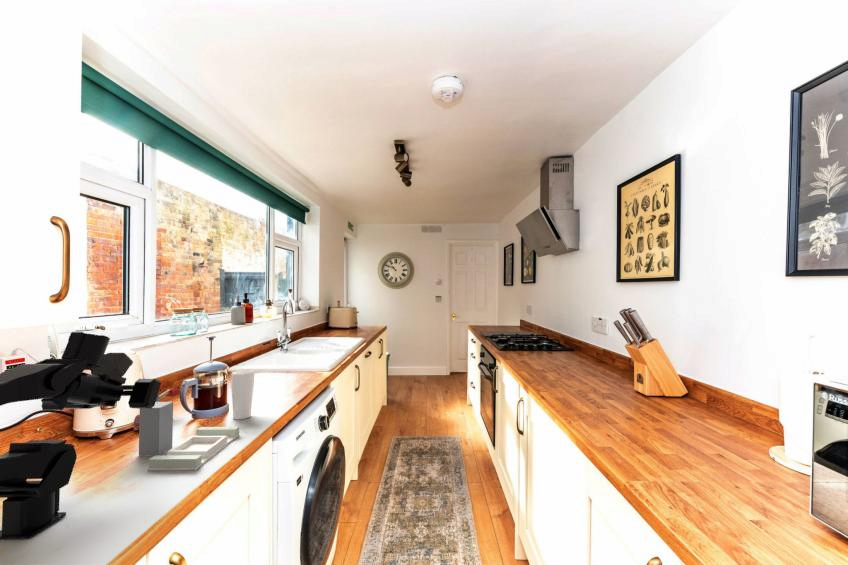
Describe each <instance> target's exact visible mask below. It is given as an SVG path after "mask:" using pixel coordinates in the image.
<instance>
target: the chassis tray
mask: <svg viewBox="0 0 848 565" xmlns="http://www.w3.org/2000/svg"><path fill="white" fill-rule="evenodd" d="M239 436H240V426H199V428H196V435H191V436H190V437H188V438H186V439H184V441H181V442H180V443H178V444H177V445H175V446H174V447H172V448H170V449H169V450H167V451H166V452H167V453H166V455H162V454H161V455H155V456H151V457H150V458H148V464H147V465H148V467H147V468H148V470H147V471H197V470H198V469H199V468H200V467H201V466H203V465H205V463H207V462H208V461H209V460H211V459H212V458H213V457H214V456H216V454H218V453H219V452H221V450H223V449H224V448H225V447H227V446H228V445H229V444H231V443H232V442H233V441H234V440H235V439H237V438H238V437H239Z"/></svg>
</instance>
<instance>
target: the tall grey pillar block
mask: <svg viewBox="0 0 848 565" xmlns="http://www.w3.org/2000/svg"><path fill="white" fill-rule="evenodd" d="M139 414H140V419H139V430H138V432H139V433H138V456H139V457H153V456H155V455H162V454H164V453H165V452H167V451H169V450H170V449H172V448H173V433H174V432H173V430H174V429H173V428H174V401H160V402H155V405H154V406H153V407H152V408H151V409H139Z"/></svg>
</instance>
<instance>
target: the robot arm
mask: <svg viewBox="0 0 848 565" xmlns="http://www.w3.org/2000/svg"><path fill="white" fill-rule="evenodd" d="M110 340H111V338H110V337H109V336H107V335H101V334H100V335H98V334H93V333H87V332H83V331H72V332H70V334H69V336H68V342H67V343H66V346H65V347H64V351H63V353H62V355H61V358H45V359H43V360H40V361H38V362H36V363H35V362H34V363H23V364H21V365H17V366H15V367H13V368H10V369H8V370H5V371H3V372H0V407H1V406H4V405H7V404H13V403H17V402H24V401H25V402H26V401H32V400H33V401H35V400H40V401H41V408H42V410H43V411H63V410H64V409H69V410H82V409H83V410H84V409H85V410H87V409H88V410H90V409H93V408H97V407H99V408H100V407H101V408H102V407H104V408H105V407H109V408H110V407H116V404H117V402H120V401H121V398H122V397H129V399H128V402H127V403H128V406H129V408H130V409H139V410H140V409H151V408H152V407H153V406H154V405H155V402H156V401H158V399H159V395H160V394H159V392H160V389H161V385H162V382H161V380H160V379H156V378H138V379H137V380H136V381H135V382H134V384H129V385H128V384H126V381H127V377H124V376H125V374H126V373H127V371H128V370H129V368H130V367H131V366H132V365H133V364H134V361H133V359H131V358H130V357H129V355H127V354H126V353H125V352H107V353H106V350H107V349H108V346H109V342H110ZM85 371H90V373H87V372H85ZM159 400H160V399H159ZM67 441H68V440H67V439H37V440H36V439H35V440H34V439H30V440H28V441H26V442H10V443H9V448H8V451H7V452H5V453H4V454H0V498H1V499H2V498H5V499H3V500H2V510H1V512H2V513H1V529H0V540H4V539H5V540H7V539H8V540H9V539H11V540H12V539H15V540H16V539H24V540H25V539H30V538H33V537H34V536H36V535H37V534H39V533H41V532H42V531H44V530H45V529H47V528H48V527H50V526H52V525H53V524H55V523H56V522H58V521H60V520H61V519H62V518H65V517H66V516H67V512H66V511H60V491H61V490H60V489H62V488H64V487H66V486H68V485H69V484H70V481H71V480H70V479H71V478H72V477H71V476H72V473H73V471H74V467H75V464H76V462H77V457H78V456H77V452H76V448H75V445H74V444H72V443H67Z"/></svg>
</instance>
